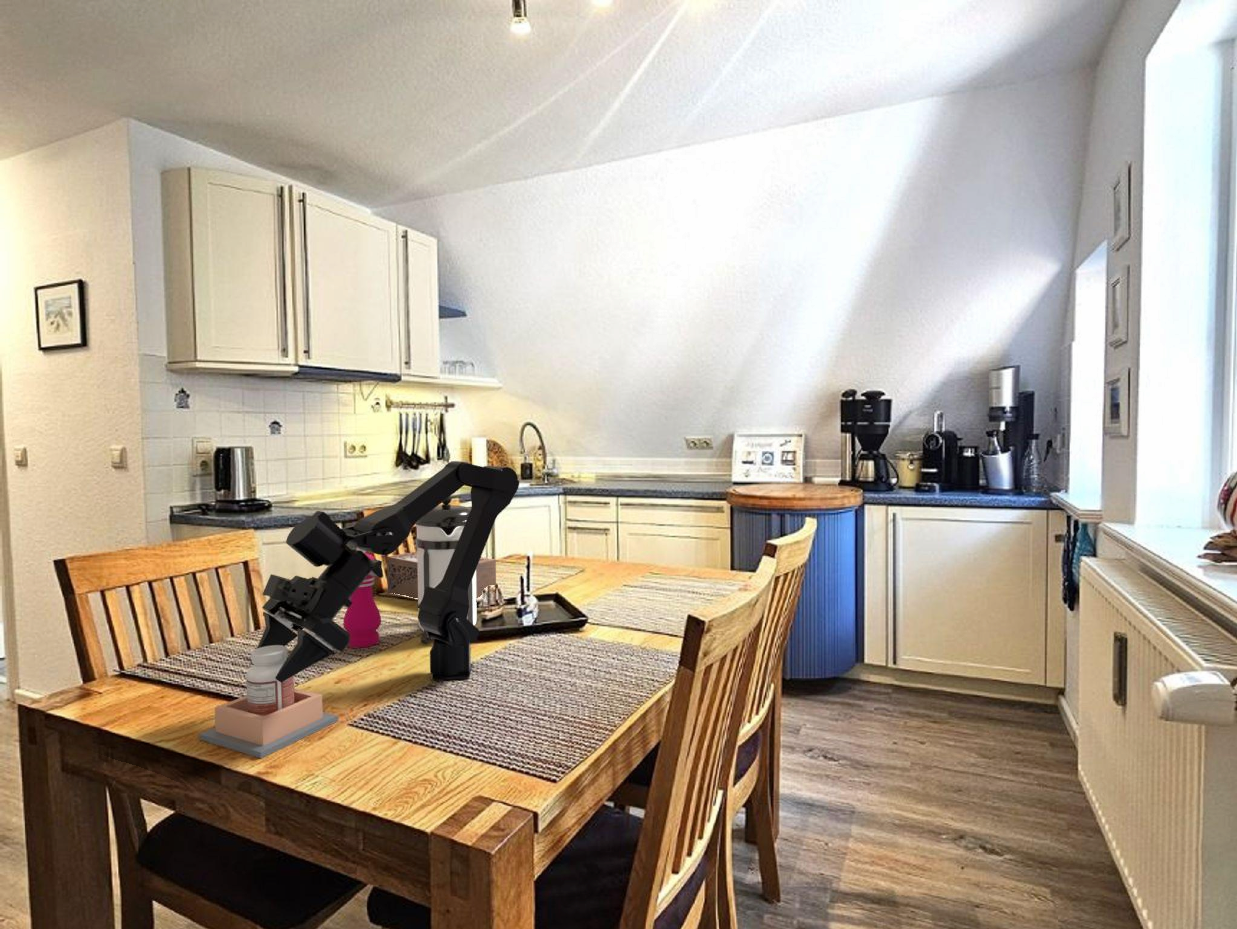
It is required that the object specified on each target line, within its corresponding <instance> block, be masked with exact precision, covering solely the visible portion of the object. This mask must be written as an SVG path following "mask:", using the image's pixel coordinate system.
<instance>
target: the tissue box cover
mask: <svg viewBox="0 0 1237 929" xmlns="http://www.w3.org/2000/svg"><path fill="white" fill-rule="evenodd" d="M496 561H497V560H496V559H494V558H488V557H482V556H481V558H480V561H479V563H478V566H477V568H476V598H478V597H480V596H481V595H482V591H483V590H484V588H486V587H487V586H489V585H496V586H497V566H496V565H497V564H496V563H497V562H496ZM386 567H387V569H386V570H387V572H386V573H387V575H386V576H387V594H389V593H393V594H394V593H395V594H400V595H406V596H409V597H413V598H418V565H417V550H416V551H413V552H407V553H401V554H395V555H390V556H388V555H387V557H386ZM393 594H392V595H393Z"/></svg>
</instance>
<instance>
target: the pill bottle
mask: <svg viewBox="0 0 1237 929" xmlns="http://www.w3.org/2000/svg"><path fill="white" fill-rule="evenodd" d="M288 656H289V655H288V648H287V645H285V646H282V645H272V646H265V647H261V648H258V649H257V648H256V649H254V650H252V651H251V658H250V659H251V660H252V663H253V664H254V665H251V666H250V667H249V668H248V670H247V671H246V676H245V679H246V680H245V681H246V696H247V709H248V712H249V713H252V714H256V715H260V716H267V715H269V714H271V713H274V712H276V711H278V710H281V709H283V708H285V707H288V706H290V705H292V704H295V703H294V688H295V683H294V678H295V677H294V676H292V677H290V678H288V679H287V680H285V681H283V682H279V681H278V680H276V679H275V677H276V676H277V674H278V672H279V670H280V669H281V667H282V666H283V664H284V663H285V661H286V660H287V658H288ZM251 660H250V661H251Z"/></svg>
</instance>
